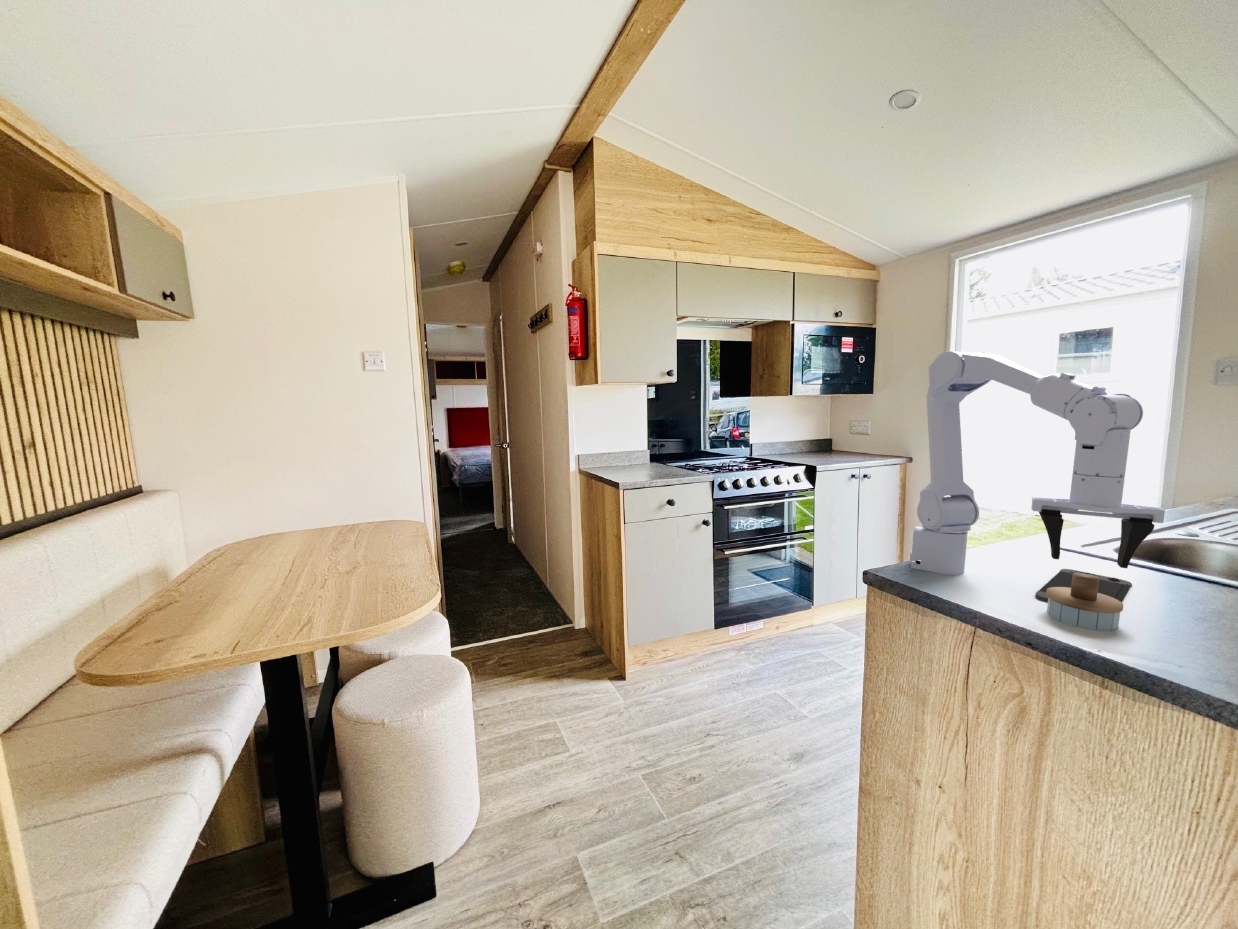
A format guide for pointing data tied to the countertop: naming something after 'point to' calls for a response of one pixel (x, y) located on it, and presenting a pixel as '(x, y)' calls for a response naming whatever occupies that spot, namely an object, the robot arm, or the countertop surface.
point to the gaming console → (1106, 584)
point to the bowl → (1083, 617)
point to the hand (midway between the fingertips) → (1087, 561)
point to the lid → (1084, 595)
